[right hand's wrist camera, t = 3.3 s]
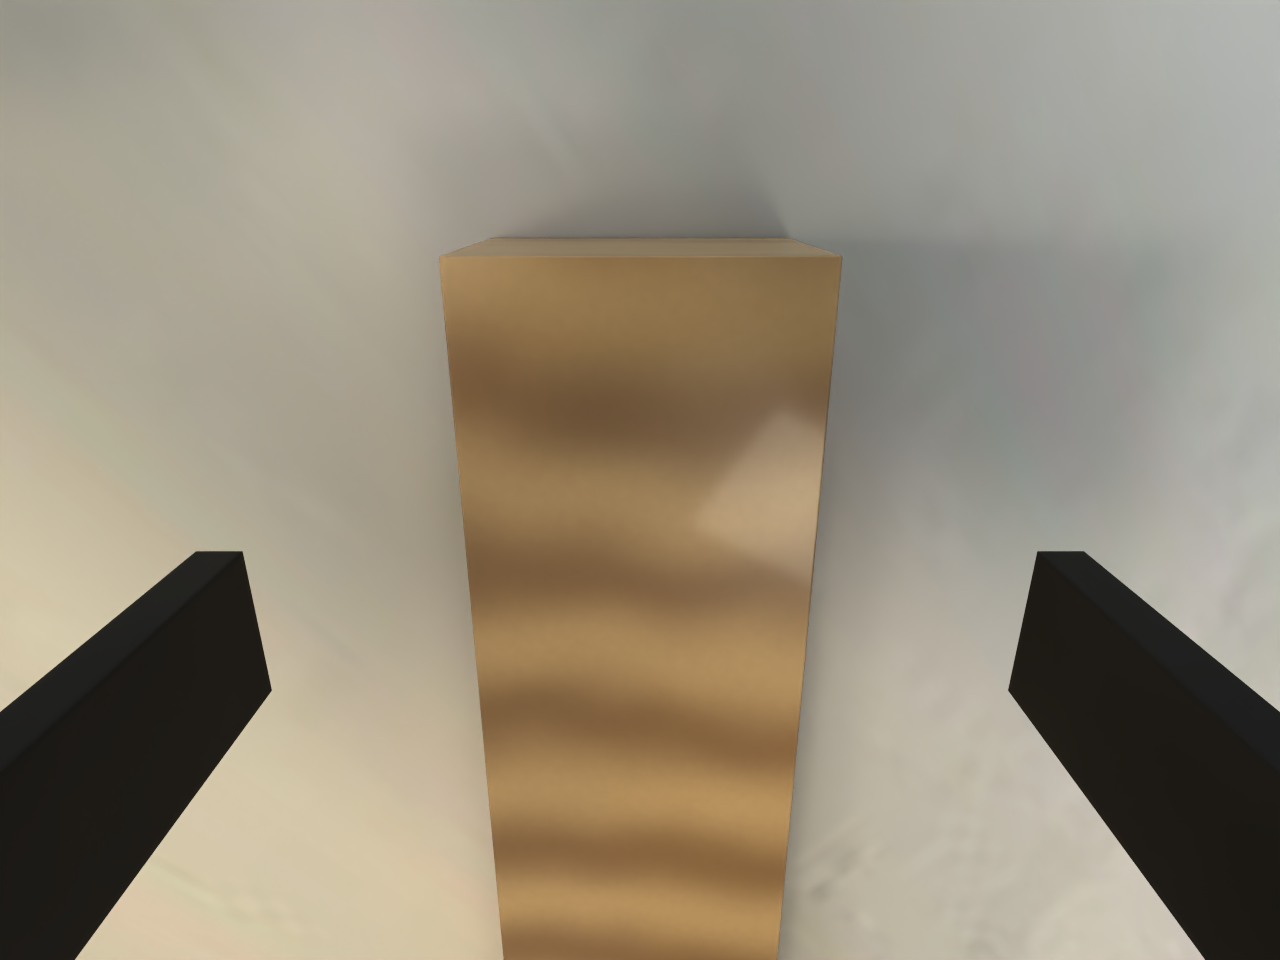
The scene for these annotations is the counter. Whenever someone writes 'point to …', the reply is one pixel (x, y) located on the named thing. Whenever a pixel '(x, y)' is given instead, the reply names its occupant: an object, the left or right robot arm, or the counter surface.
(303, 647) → the counter surface
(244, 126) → the counter surface
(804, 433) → the long beam
